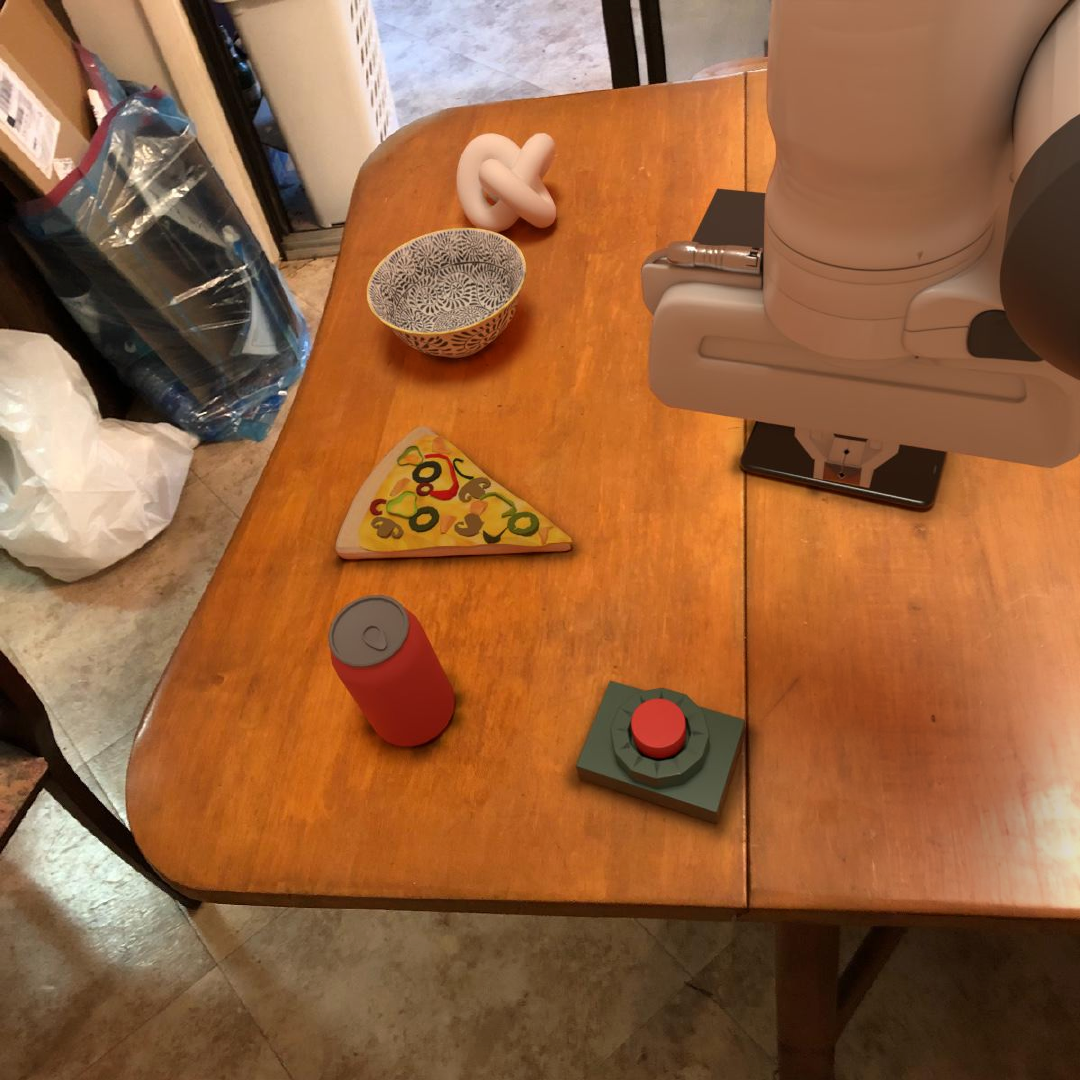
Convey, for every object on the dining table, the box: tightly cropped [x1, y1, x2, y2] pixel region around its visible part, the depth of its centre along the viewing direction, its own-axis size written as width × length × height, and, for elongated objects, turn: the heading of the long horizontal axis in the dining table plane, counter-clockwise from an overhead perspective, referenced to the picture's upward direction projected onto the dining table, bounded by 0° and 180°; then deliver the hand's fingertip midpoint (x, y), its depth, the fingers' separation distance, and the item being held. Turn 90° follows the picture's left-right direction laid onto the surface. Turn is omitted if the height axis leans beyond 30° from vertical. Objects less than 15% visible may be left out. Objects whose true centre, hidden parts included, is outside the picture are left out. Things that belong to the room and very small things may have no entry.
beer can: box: [327, 594, 456, 747], centre depth 67 cm, size 7×7×12 cm
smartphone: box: [739, 421, 948, 509], centre depth 80 cm, size 8×1×16 cm
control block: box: [575, 680, 746, 825], centre depth 65 cm, size 10×7×4 cm
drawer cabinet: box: [691, 188, 766, 248], centre depth 88 cm, size 14×13×10 cm
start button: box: [631, 699, 686, 758], centre depth 63 cm, size 4×4×2 cm
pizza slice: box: [335, 425, 573, 560], centre depth 81 cm, size 16×21×3 cm
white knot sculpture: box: [456, 132, 557, 233], centre depth 105 cm, size 11×12×9 cm
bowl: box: [366, 227, 527, 359], centre depth 94 cm, size 16×16×8 cm
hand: (843, 474), depth 50 cm, fingers closed
